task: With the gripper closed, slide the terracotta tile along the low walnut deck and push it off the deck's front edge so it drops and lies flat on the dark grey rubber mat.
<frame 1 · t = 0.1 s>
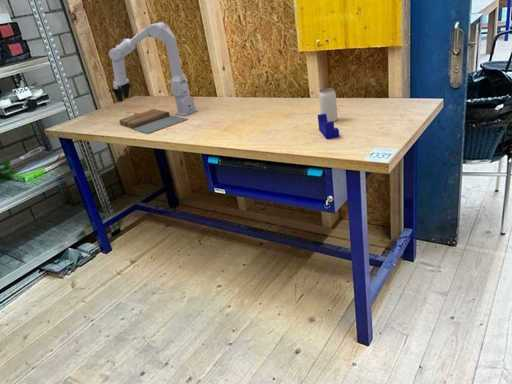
hand: (123, 99, 219), 10 cm above the workbench, tool pointing down, fingers open, 7 cm apart
ink cartridge box: (184, 101, 243), on the workbench
mat: (160, 124, 203), on the workbench
can: (329, 120, 167), on the workbench
cable clip: (328, 134, 153), on the workbench
deck: (145, 120, 214), on the workbench
tile: (143, 115, 216), point 2 cm above the workbench, touching deck
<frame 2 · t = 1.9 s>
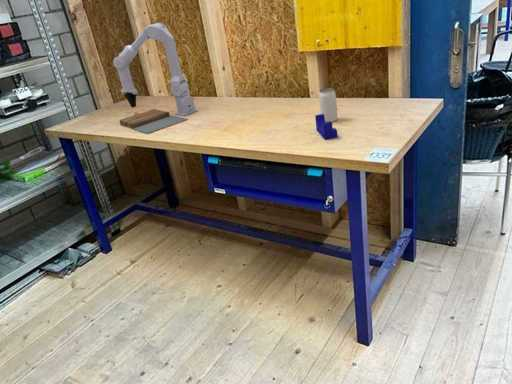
hand: (133, 106, 221), 6 cm above the workbench, tool pointing down, fingers closed
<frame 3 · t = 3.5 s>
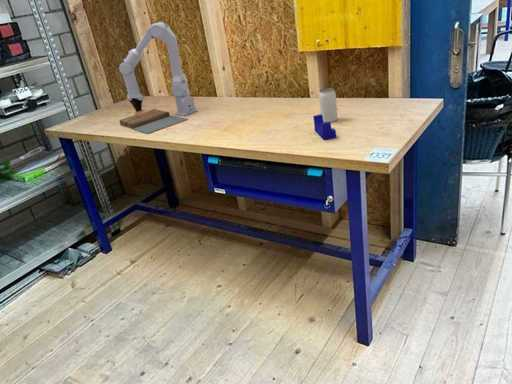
hand: (139, 112, 218), 3 cm above the workbench, tool pointing down, fingers closed
tile: (143, 115, 215), point 3 cm above the workbench, touching gripper
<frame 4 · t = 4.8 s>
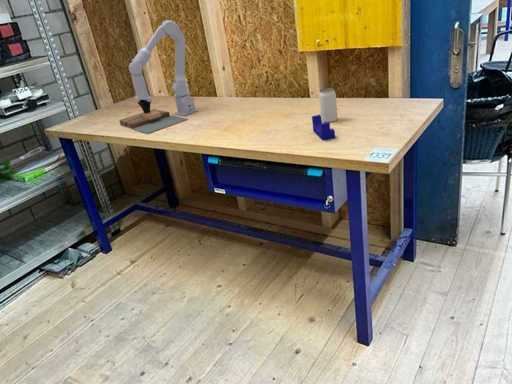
hand: (147, 114, 211), 3 cm above the workbench, tool pointing down, fingers closed
tile: (152, 117, 208), point 2 cm above the workbench, touching deck
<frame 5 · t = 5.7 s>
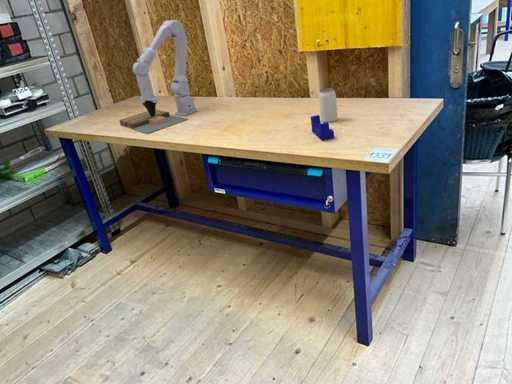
hand: (153, 115, 207), 3 cm above the workbench, tool pointing down, fingers closed
tile: (157, 122, 206), resting on mat
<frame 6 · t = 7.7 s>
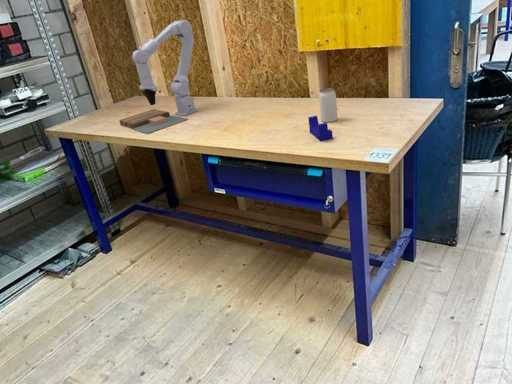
hand: (152, 104, 206), 8 cm above the workbench, tool pointing down, fingers closed
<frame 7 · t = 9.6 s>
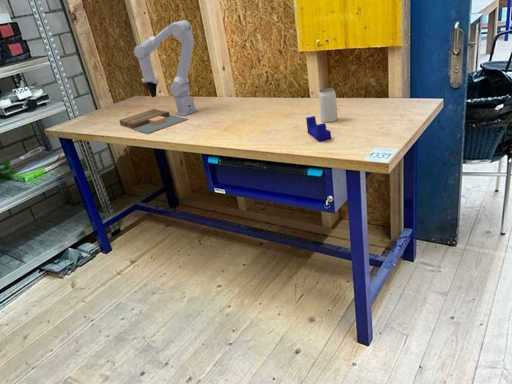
hand: (154, 96, 218), 9 cm above the workbench, tool pointing down, fingers closed
at the end: tile inside the target area (3.8 cm from its centre), resting on mat; tile tilted 0° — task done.
